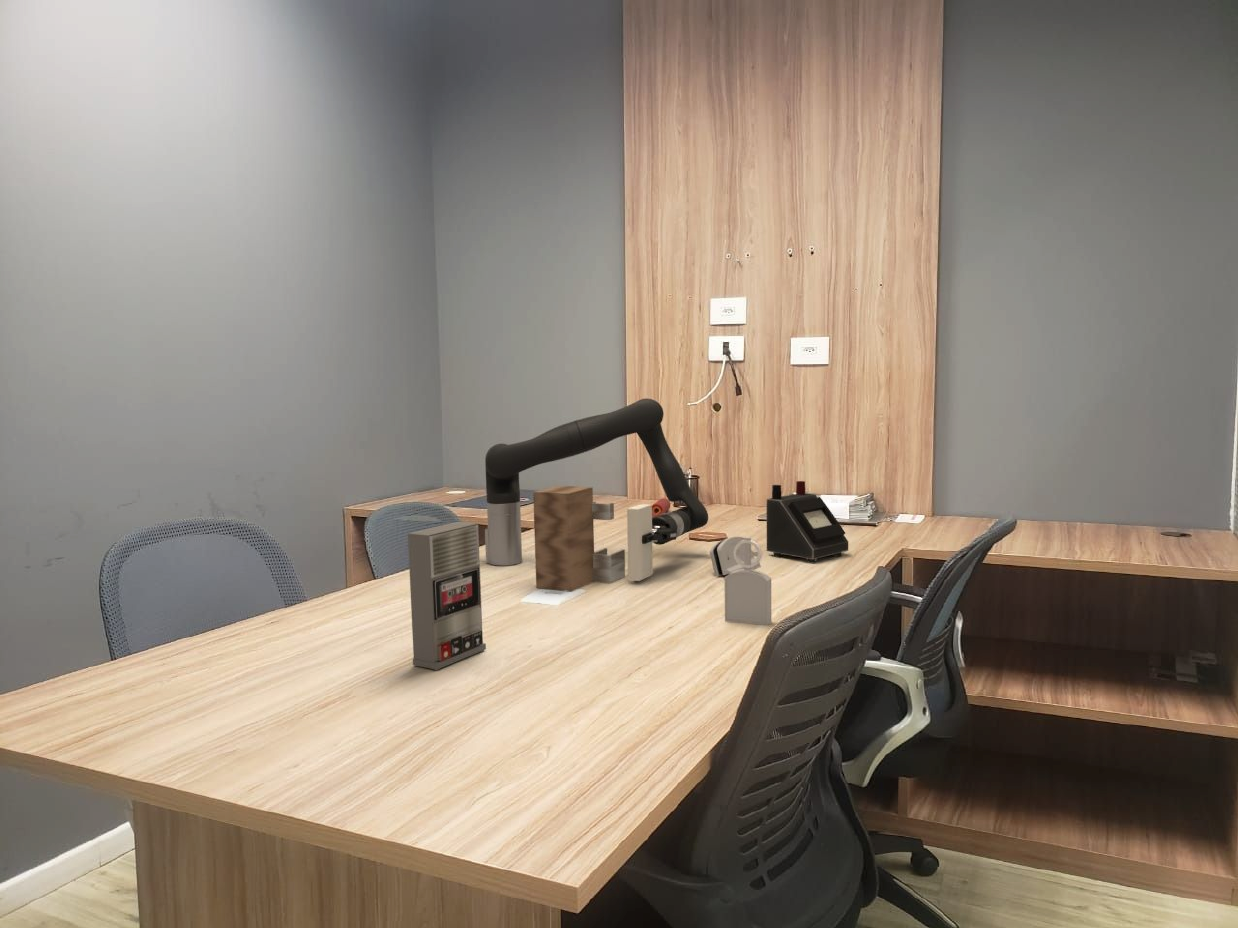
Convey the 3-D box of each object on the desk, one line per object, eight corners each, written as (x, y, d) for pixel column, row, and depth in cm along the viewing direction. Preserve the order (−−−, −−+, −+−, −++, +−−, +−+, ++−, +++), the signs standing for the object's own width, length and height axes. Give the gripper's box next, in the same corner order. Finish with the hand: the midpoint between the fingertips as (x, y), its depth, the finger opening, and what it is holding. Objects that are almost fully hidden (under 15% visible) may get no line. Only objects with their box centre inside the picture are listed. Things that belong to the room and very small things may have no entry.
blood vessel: (648, 531, 307) (647, 516, 307) (633, 531, 308) (632, 516, 308) (670, 511, 348) (670, 498, 347) (657, 511, 349) (657, 498, 348)
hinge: (732, 578, 237) (720, 541, 238) (716, 583, 240) (704, 545, 241) (761, 566, 251) (749, 530, 252) (746, 570, 253) (735, 535, 254)
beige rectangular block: (628, 579, 234) (627, 508, 232) (642, 573, 241) (641, 504, 239) (638, 580, 233) (637, 509, 231) (652, 574, 240) (651, 504, 238)
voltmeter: (813, 564, 252) (814, 491, 250) (766, 555, 264) (766, 485, 262) (849, 555, 263) (849, 484, 260) (802, 547, 275) (802, 480, 273)
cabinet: (536, 587, 232) (533, 491, 229) (575, 571, 249) (573, 482, 247) (588, 593, 225) (586, 494, 223) (625, 576, 242) (623, 484, 240)
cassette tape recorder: (437, 671, 170) (431, 536, 167) (412, 666, 173) (406, 533, 170) (487, 650, 182) (482, 523, 179) (463, 646, 185) (457, 521, 182)
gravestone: (767, 625, 195) (767, 540, 193) (724, 620, 199) (724, 537, 197) (771, 621, 198) (771, 537, 196) (728, 617, 202) (728, 535, 200)
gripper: (641, 512, 252) (611, 522, 237) (689, 515, 246) (662, 526, 230) (641, 539, 253) (612, 551, 238) (689, 543, 246) (662, 556, 231)
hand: (636, 539), depth 234 cm, fingers closed on beige rectangular block, 3 cm apart
